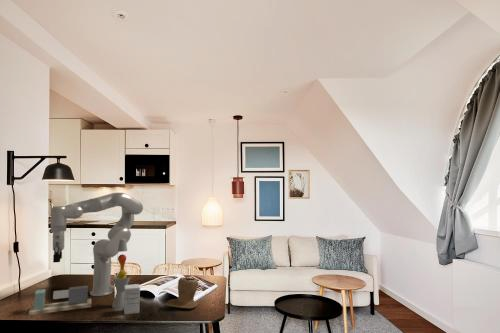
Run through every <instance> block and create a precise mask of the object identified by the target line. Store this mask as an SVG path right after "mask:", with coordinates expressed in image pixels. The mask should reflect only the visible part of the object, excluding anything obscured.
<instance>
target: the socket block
mask: <svg viewBox="0 0 500 333" xmlns="http://www.w3.org/2000/svg"><path fill="white" fill-rule="evenodd" d="M33 301H34V302H33V303H34V304H33V306H34V310H42V309H44V306H45V304H46V302H45V301H46V289H45V288H44V289H43V288H42V289H36V291H35V293H34V300H33Z"/></svg>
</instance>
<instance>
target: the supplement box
mask: <svg viewBox="0 0 500 333" xmlns="http://www.w3.org/2000/svg"><path fill="white" fill-rule="evenodd" d="M140 287H141V286H140V284H139V283H134V284H128V285H125V287H124V308H123V313H124V314H123V315H132V314H139V313H140V299H141V298H140V295H141V288H140Z"/></svg>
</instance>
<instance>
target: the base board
mask: <svg viewBox="0 0 500 333" xmlns="http://www.w3.org/2000/svg"><path fill="white" fill-rule="evenodd" d="M92 304H93V303H92V298H88V300H87V303H85V304H77V305H69V306H68V301H61V302H60V301H59V302H52V303H45V306H44V309H42V310H34V305H31V306H30V307H29V310H28V316H32V315H33V316H34V315H41V314H48V313H49V314H50V313H56V312H63V311H71V310H79V309H80V310H81V309H87V308H92V306H93V305H92Z"/></svg>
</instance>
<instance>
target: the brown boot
mask: <svg viewBox="0 0 500 333" xmlns="http://www.w3.org/2000/svg"><path fill="white" fill-rule="evenodd" d="M198 285H199V283H198V280H197V279H196V278H192V277H185V276H184V277H183V276H182V277H180V278H179V279H178V282H177V291H178V297H177V298H173V299H170V300H168V301H167V302H166V303H165V305H166V306H167V307H172V308H178V309H188V310H189V309H194V308H196V307H197V306H198V302H196V301H195V300H194V298H195V295H196V292H197V289H198ZM166 306H165V307H166Z"/></svg>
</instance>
